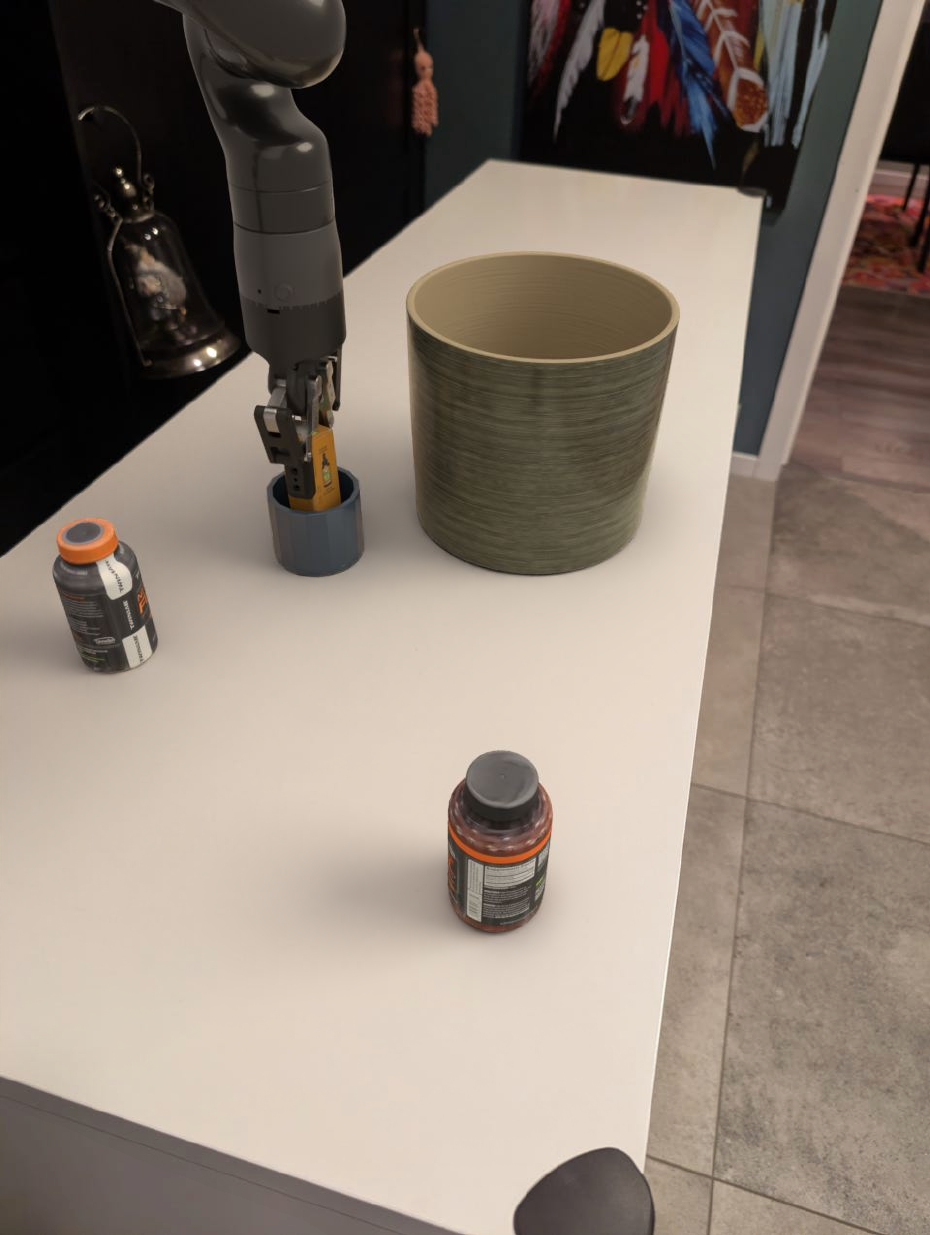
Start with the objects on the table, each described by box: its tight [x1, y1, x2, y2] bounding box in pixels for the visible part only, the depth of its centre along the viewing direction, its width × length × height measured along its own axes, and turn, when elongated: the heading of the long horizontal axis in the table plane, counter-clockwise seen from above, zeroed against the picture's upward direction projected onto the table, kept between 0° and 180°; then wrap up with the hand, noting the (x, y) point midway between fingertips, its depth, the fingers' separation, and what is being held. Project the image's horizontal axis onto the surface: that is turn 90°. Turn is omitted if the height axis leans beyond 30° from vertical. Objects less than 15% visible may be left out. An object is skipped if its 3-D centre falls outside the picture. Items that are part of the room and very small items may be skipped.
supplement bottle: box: [447, 749, 554, 933], centre depth 56 cm, size 6×6×11 cm
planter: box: [405, 250, 681, 575], centre depth 84 cm, size 22×22×20 cm
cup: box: [266, 465, 365, 577], centre depth 83 cm, size 8×8×6 cm
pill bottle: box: [51, 517, 159, 673], centre depth 72 cm, size 6×6×11 cm
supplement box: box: [283, 420, 341, 512], centre depth 81 cm, size 3×3×10 cm
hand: (311, 480), depth 81 cm, fingers closed on supplement box, 4 cm apart
